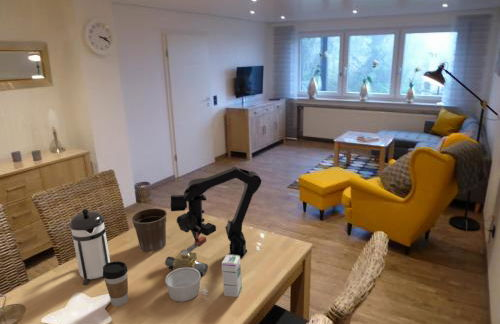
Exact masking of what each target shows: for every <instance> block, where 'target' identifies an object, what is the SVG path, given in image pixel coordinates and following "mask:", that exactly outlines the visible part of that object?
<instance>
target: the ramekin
mask: <svg viewBox="0 0 500 324" xmlns="http://www.w3.org/2000/svg"><path fill="white" fill-rule="evenodd" d="M201 277H202V276H201V275H200V273H199V271H198V270H196V269H194V268H179V269H176V270H175V269H173V270H171V271H170V272H169V273H168V274H167V275H166V277H165V279H164V281H165V283H164V285H165V286H166V290H167V293H168V296H169V297H170V299H172V300H174V301H176V302H187V301H190V300H193V299H194V298H195V297H197V296H198V294H199V293H200V290H201V280H202V279H201Z"/></svg>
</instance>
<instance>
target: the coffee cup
mask: <svg viewBox="0 0 500 324" xmlns="http://www.w3.org/2000/svg"><path fill="white" fill-rule="evenodd" d="M128 269H129V268H128V267H127V264H126V263H125V261H119V260H117V261H116V260H115V261H110V262H109V263H107V264H106V265H104V266H103V276H102V277H103V278H104V283H105V286H106V289H107V292H108V295H109V299H110V304H111V305H112V306H113V307H121V306H124V305H126V304H127V303H128V301H129V293H128V292H129V286H128V284H129V282H128Z"/></svg>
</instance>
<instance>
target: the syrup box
mask: <svg viewBox="0 0 500 324" xmlns="http://www.w3.org/2000/svg"><path fill="white" fill-rule="evenodd" d="M241 268H242V267H241V258H240V256H238V255H229V254H225V256H224V257H223V260H222V261H221V272H222V284H223V285H222V287H223V295H224V297H225V296H226V297H233V298H239V296H240V294H241V291H242V288H243V287H242V285H243V283H242V270H241Z"/></svg>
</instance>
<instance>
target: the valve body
mask: <svg viewBox="0 0 500 324" xmlns="http://www.w3.org/2000/svg"><path fill="white" fill-rule="evenodd" d="M197 258H198V257H197V253H195V252H192V251H191V252H190V253H189V256H188V257H182V255H181V251H180V252H179V253H178V254H177V255H176V256H175V257H173V256H167V257H166V259H165V261H164V265H165V266H166V267H167V270H170V271H174V270H176V269H179V268H194V269H196V270H198V271H199V273H200V275H201V277H203V275H204V274H206V273H207V271H208V269H209V266H208V263H205V262H200V261H199V260H198V259H197Z"/></svg>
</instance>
